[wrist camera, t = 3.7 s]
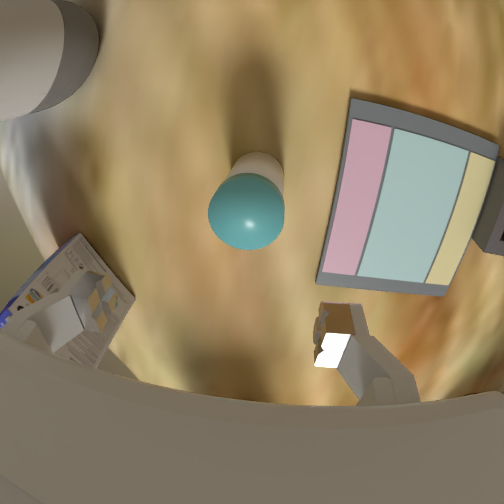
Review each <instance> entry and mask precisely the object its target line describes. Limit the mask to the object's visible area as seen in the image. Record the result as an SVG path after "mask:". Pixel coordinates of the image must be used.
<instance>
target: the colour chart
mask: <svg viewBox="0 0 504 504" xmlns="http://www.w3.org/2000/svg"><path fill="white" fill-rule="evenodd" d="M499 149H500V146H499V145H497V144H495V143H493V142H491V141H488V140H486V139H484V138H481V137H479V136H477V135H474V134H472V133H469V132H467V131H464V130H461V129H459V128H456V127H453V126H451V125H448V124H445V123H442V122H439V121H436V120H433V119H430V118H427V117H424V116H421V115H417V114H414V113H411V112H407V111H404V110H400V109H396V108H393V107H389V106H385V105H381V104H377V103H372V102H368V101H364V100H359V99H354V98H350V103H349V110H348V117H347V124H346V130H345V137H344V143H343V149H342V155H341V161H340V167H339V172H338V178H337V183H336V189H335V194H334V199H333V204H332V209H331V214H330V219H329V223H328V228H327V233H326V237H325V242H324V246H323V251H322V255H321V259H320V264H319V268H318V272H317V276H316V280H315V283H316V284H318V285H327V286H336V287H346V288H356V289H366V290H376V291H387V292H397V293H408V294H420V295H432V296H445V294H446V292H447V290H448V288H449V286H450V284H451V282H452V280H453V278H454V276H455V274H456V271H457V269H458V267H459V265H460V263H461V261H462V258H463V256H464V254H465V251H466V249H467V247H468V244H469V242H470V240H471V237H472V235H473V232H474V229H475V227H476V224H477V222H478V219H479V216H480V213H481V211H482V208H483V205H484V202H485V199H486V196H487V193H488V189H489V186H490V183H491V179H492V176H493V172H494V169H495V165H496V161H497V157H498V153H499Z"/></svg>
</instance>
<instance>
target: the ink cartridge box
mask: <svg viewBox="0 0 504 504" xmlns="http://www.w3.org/2000/svg"><path fill="white" fill-rule="evenodd" d="M79 269H81V270H85V271H92V272H97V273H102V274H107V275H109V276H110V277H111V280H112V285H111V288H112V289H113V290H114V291H115V294H116V306H115V309H114V311H113V313H112V314H111V315H109V316H107V323H106V325H105V326H104V328H103V330H102V331H101V333H99V332H94V331H90V330H86V329H84V330H83V331H82V332H81V333H79V334H78V335H77V336H75V337H74V338H73V339H71V340H70V341H69V342H67V343H66V344H65V345H63V346H62V347H61V348H59V349H58V350H57V351H55V352H54V353H53V354H54V355H57V356H59V357H62V358H65V359H68V360H71V361H74V362H76V363H79V364H82V365H85V366H88V367H92V368H95V369H96V368H97V366H98V365H99V363H100V361H101V359H102V357H103V355H104V353H105V352H106V350H107V348H108V346H109V344H110V343H111V341H112V339H113V337H114V335H115V334H116V332H117V330H118V328H119V327H120V325H121V323H122V321H123V320H124V318H125V316H126V315H127V313H128V311H129V309H130V308H131V306H132V305H133V303H134V301H135V297H134V296H133V295H132V294H131V293H130V292H129V291H128V290H127V288H126V287H125V286H124V285H123V284H122V283H121V282H120V280H119V279H118V278H117V277H116V276H115V275H114V274H113V272H112V271H111V270H110V269H109V268H108V266H107V265H106V264H105V263H104V262H103V260H102V259H101V258H100V257H99V255H98V254H97V253H96V252H95V250H94V249H93V248H92V247H91V245H90V244H89V243H88V242H87V240H86V239H85V238H84V236H83V235H82V234H81V233H78V234H76V235H75V236H74V237H73V238H71V239H70V240H69V241H67V242H66V243H65V244H63V245H62V246H61V247H60V248H59V249H58V250H57V251H56V252H55V253H53V254H52V255H51V256H50V257H49V258H48V259H47V260H46V261H45V262H44V263H43V264H42V265H41V266H40V267H39V268H38V269H37V270H36V271H35V272H34V274H33V275H32V276H31V277H30V278H29V279H28V280H27V281H26V282H25V283H24V284H23V286H22V287H21V288H20V289H19V290H18V291H17V293H16V294H15V295H14V296H13V297H12V299H11V300H10V301H9V302H8V304H7V305H6V306H5V308H4V309H3V310H2V312H1V313H0V328H1V329H2V328H3V327H4V325H5V324H6V323H7V321H8V320H9V319H10V318H11V316H12V315H13V314H14V313H15V312H17V311H19V310H21V309H23V308H25V307H27V306H29V305H31V304H33V303H35V302H37V301H39V300H40V299H42V298H44V297H46V296H48V295H50V294H52V293H54V292H57V293H58V292H59V291H60V289H61V288H62V287H63V286H64V285H65V283H66V282H67V281H68V280H69V278H70V277H71V276H72V275H73V274H74V273H75V271H76V270H79Z"/></svg>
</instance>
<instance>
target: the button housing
mask: <svg viewBox="0 0 504 504" xmlns="http://www.w3.org/2000/svg"><path fill="white" fill-rule="evenodd" d="M471 238H472V239H473V240H474V241H475V242H476V244H477V245H478V246H479V247H480V248H481V250H482V251H483V252H485V253H490V254H496V255H501V256H504V159H503V158H501V157H497V161H496V165H495V169H494V172H493V176H492V179H491V183H490V186H489V189H488V193H487V196H486V199H485V202H484V205H483V208H482V211H481V213H480V216H479V219H478V222H477V224H476V227H475V229H474V232H473V235H472V237H471Z"/></svg>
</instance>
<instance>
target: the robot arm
mask: <svg viewBox="0 0 504 504" xmlns="http://www.w3.org/2000/svg"><path fill="white" fill-rule="evenodd" d="M111 285H112V280H111V277H110V276H109V275H107V274H102V273H97V272H92V271H85V270H81V269H79V270H76V271H75V273H74V274H73V275H72V276H71V277H70V278H69V280H68V281H67V282H66V283H65V285H64V286H63V287H62V288H61V289H60V291H59V292H58V293H57V292H54V293H52V294H50V295H48V296H46V297H44V298H42V299H40V300H39V301H37V302H35V303H33V304H31V305H29V306H27V307H25V308H23V309H21V310H19V311H17V312H15V313H14V314H13V315H12V316H11V318H10V319H9V320H8V321H7V323H6V324H5V325H4V327H3V328H2V329H1V331H0V504H504V394H502V393H501V392H499V391H490V392H484V393H479V394H470V395H467V396H463V397H457V398H450V399H443V400H436V401H427V402H421V401H420V397H419V393H418V389H417V386H416V382H415V378H414V375H413V374H412V373H411V372H410V371H409V370H408V369H407V368H406V367H405V366H404V365H403V364H402V363H401V362H400V361H399V360H398V359H397V358H396V357H395V356H393V355H392V354H391V353H390V352H389V351H388V350H387V349H386V348H385V347H384V346H383V345H382V344H381V343H380V342H379V341H378V340H377V339H376V338H375V337H374V336H370V335H369V330H368V326H367V322H366V319H365V315H364V311H363V307H362V305H361V304H355V303H336V302H323V301H321V303H320V306H319V309H318V310H319V316H318V317H317V318H316V320H315V324H314V330H313V343H314V344H315V345H316V347H315V350H314V362H315V366H322V367H337V370H338V371H339V373H340V374H341V375H342V377H343V378H344V380H345V381H346V382H347V384H348V385H349V387H350V388H351V390H352V391H353V392H354V394H355V395H356V397H357V398H358V399H359V402H358V403H357V405H356V406H312V405H292V404H278V403H266V402H256V401H247V400H238V399H231V398H223V397H217V396H210V395H204V394H198V393H192V392H187V391H182V390H177V389H172V388H167V387H163V386H158V385H154V384H150V383H145V382H141V381H137V380H133V379H130V378H126V377H122V376H118V375H115V374H111V373H108V372H105V371H101V370H98V369H95V368H92V367H88V366H85V365H82V364H79V363H76V362H74V361H71V360H68V359H65V358H62V357H59V356H57V355H54V354H53V353H54V352H55V351H57V350H58V349H59V348H61V347H62V346H63V345H65V344H66V343H67V342H69V341H70V340H71V339H73V338H74V337H75V336H77V335H78V334H79V333H81V332H82V331H83V330H84V329H86V330H90V331H94V332H99V333H101V331H102V330H103V328H104V326H105V325H106V323H107V316H109V315H111V314H112V313H113V311H114V309H115V306H116V294H115V291H114V290H113V289H112V288H111Z"/></svg>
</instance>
